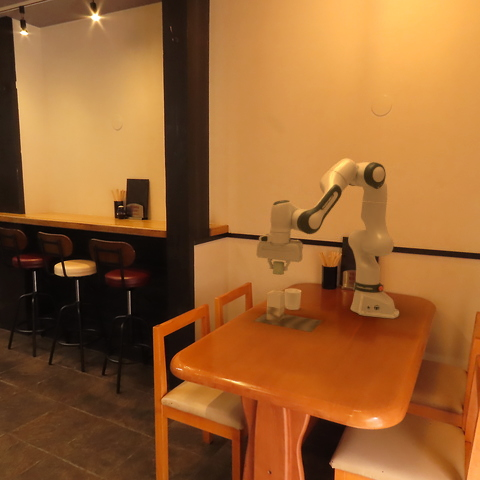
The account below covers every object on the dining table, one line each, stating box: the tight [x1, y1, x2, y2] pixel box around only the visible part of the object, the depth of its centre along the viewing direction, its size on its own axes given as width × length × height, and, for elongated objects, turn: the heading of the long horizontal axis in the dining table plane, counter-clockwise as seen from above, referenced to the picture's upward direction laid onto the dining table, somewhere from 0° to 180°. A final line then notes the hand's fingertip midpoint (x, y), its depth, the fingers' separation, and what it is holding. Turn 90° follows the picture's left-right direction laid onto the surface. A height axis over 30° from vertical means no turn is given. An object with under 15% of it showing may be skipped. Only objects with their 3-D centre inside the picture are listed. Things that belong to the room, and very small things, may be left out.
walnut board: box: [253, 311, 323, 333], centre depth 182 cm, size 26×16×2 cm, turn 63°
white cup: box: [284, 288, 302, 311], centre depth 200 cm, size 8×8×10 cm
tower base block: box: [266, 305, 286, 322], centre depth 184 cm, size 6×6×6 cm
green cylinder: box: [272, 260, 285, 276], centre depth 181 cm, size 5×5×5 cm
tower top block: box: [266, 289, 285, 308], centre depth 183 cm, size 6×6×6 cm
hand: (278, 269), depth 181 cm, fingers closed on green cylinder, 5 cm apart
